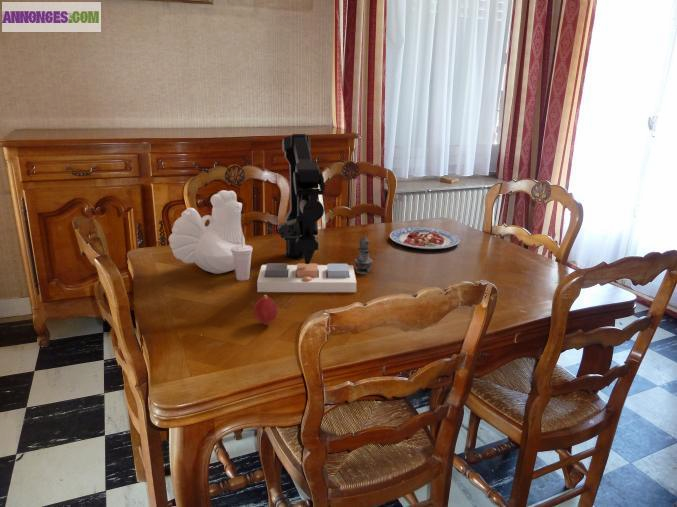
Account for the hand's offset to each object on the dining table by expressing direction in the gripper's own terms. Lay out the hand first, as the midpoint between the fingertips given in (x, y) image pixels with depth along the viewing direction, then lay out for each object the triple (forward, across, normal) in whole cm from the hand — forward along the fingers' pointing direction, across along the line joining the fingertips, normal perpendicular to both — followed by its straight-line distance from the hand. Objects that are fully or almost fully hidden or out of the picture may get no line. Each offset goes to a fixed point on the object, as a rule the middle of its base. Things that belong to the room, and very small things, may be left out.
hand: (307, 263), depth 153 cm
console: (+6, 0, 0) cm, 6 cm away
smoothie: (+6, -3, -19) cm, 21 cm away
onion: (+6, +27, -10) cm, 30 cm away
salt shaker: (+6, -10, +18) cm, 21 cm away
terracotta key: (+4, 0, 0) cm, 4 cm away
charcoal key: (+4, 0, -9) cm, 10 cm away
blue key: (+4, 0, +9) cm, 10 cm away
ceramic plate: (+6, -41, +43) cm, 60 cm away
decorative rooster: (+6, -10, -31) cm, 33 cm away
